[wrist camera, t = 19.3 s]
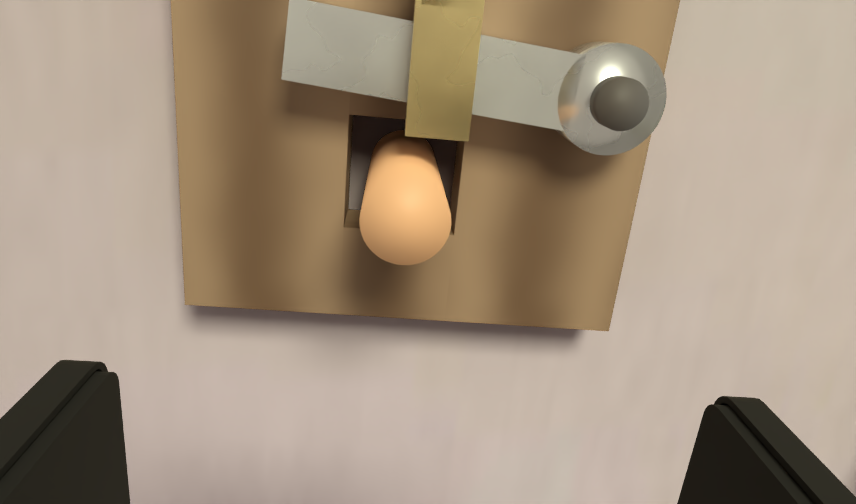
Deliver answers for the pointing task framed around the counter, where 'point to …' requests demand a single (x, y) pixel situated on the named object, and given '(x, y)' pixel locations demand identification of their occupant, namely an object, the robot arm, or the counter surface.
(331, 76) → the latch bar
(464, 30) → the keeper
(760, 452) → the robot arm
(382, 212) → the lock pin
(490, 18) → the base plate
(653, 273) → the counter surface
